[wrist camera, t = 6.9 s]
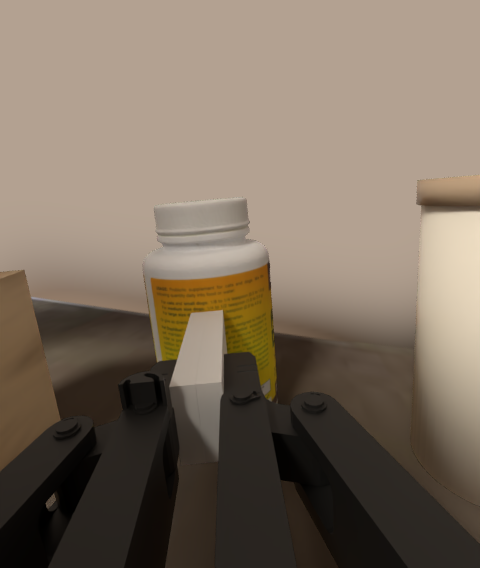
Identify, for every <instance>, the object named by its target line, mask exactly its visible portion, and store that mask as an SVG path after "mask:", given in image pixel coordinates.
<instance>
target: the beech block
mask: <svg viewBox="0 0 480 568" xmlns="http://www.w3.org/2000/svg"><path fill="white" fill-rule="evenodd" d="M59 421H61V419H60V415H59V411H58V407H57V403H56V399H55V395H54V390H53V386H52V382H51V378H50V374H49V370H48V366H47V362H46V357H45V353H44V349H43V345H42V341H41V337H40V333H39V329H38V324H37V320H36V316H35V312H34V308H33V304H32V300H31V296H30V292H29V287H28V283H27V280H26V275H25V271H24V270H18V271H7V272H0V471H1V470H2V469H3V468H5V467H6V466H7V465H8V464H9V463H10V462H11V461H12V460H13V459H14V458H16V457H17V456H18V455H19V454H20V453H21V452H22V451H23V450H24V449H25V448H27V447H28V446H29V445H30V444H31V443H32V442H33V441H34V440H35V439H36V438H38V437H39V436H40V435H41V434H42V433H43V432H44V431H45V430H46V429H48V428H49V427H50V426H52V425H53V424H55V423H57V422H59Z"/></svg>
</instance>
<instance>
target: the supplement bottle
mask: <svg viewBox="0 0 480 568" xmlns="http://www.w3.org/2000/svg"><path fill="white" fill-rule="evenodd" d="M154 213H155V220H156V232H157V233H158V236H157V240H158V242H160V243H162V244H163V247H162V248H159V249H156V250H154V251H152V252H151V253H149V254H148V255H147V256H146V257H145V259H144V261H143V276H144V282H145V288H146V295H147V302H148V308H149V315H150V322H151V328H152V334H153V340H154V346H155V353H156V359H157V363H158V362H159V361H165V360H176V359H178V355H179V352H180V349H181V345H182V342H183V338H184V335H185V332H186V328H187V325H188V321H189V318H190V315H191V313H196V312H207V311H218V310H223V315H224V325H225V335H226V345H227V354H230V353H240V352H250V353H251V354H252V355H254V356H255V358H256V363H257V368H258V374H259V379H260V384H261V390H262V392H263V394H264V396H265V398H266V399H268V400H270V401H271V402H274V403H277V402H278V393H277V376H276V358H275V343H274V329H273V314H272V300H271V282H270V263H269V255H268V251H267V249H266V247H265V246H264V245H263V244H262V243H260V242H258V241H256V240H251V239H245V236H246V235H247V234H248V233H249V227H248V224H249V223H250V221H249V219H248V212H247V200H246V198H243V197H239V198H225V199H215V200H214V199H213V200H202V201H191V202H181V203H171V204H161V205H156V206H155V207H154Z"/></svg>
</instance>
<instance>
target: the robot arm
mask: <svg viewBox="0 0 480 568" xmlns="http://www.w3.org/2000/svg"><path fill="white" fill-rule="evenodd" d="M118 387H119V392H120V397H121V403H122V408H123V410H122V413H121V415H120V417H119V419H118V420H116V421H113V422H110V423H107V424H103V425H100V426H97V427H94V423H93V420H92V419H91V418H90V417H87V416H72V417H69V418H68V417H67V418H64V419H62V420H61V421H59V422H57V423H55V424H53V425H52V426H50V427H49V428H48V429H46V430H45V431H44V432H43V433H42V434H41V435H40V436H39V437H38V438H36V439H35V440H34V441H33V442H32V443H31V444H30V445H29V446H28V447H27V448H25V449H24V450H23V451H22V452H21V453H20V454H19V455H18V456H17V457H16V458H14V459H13V460H12V461H11V462H10V463H9V464H8V465H7V466H6V467H5V468H3V469H2V470H1V471H0V568H165V562H166V556H167V550H168V544H169V537H170V531H171V525H172V519H173V512H174V506H175V500H176V494H177V487H178V481H179V475H178V468H177V460H178V455H179V456H180V463H181V466H182V465H192V464H202V463H212V462H218V482H217V513H216V544H215V568H297V565H296V560H295V555H294V550H293V544H292V539H291V534H290V528H289V523H288V518H287V512H286V507H285V502H284V497H283V491H282V486H281V481H280V480H285V481H290V482H294V484H295V487H296V490H297V492H298V494H299V496H300V498H301V499H302V501H303V503H304V505H305V507H306V508H307V510H308V512H309V514H310V516H311V518H312V519H313V521H314V523H315V525H316V527H317V529H318V530H319V532H320V534H321V536H322V538H323V539H324V541H325V543H326V545H327V547H328V549H329V550H330V552H331V554H332V556H333V558H334V560H335V561H336V563H337V565H338V567H339V568H480V544H479V543H478V542H477V541H476V540H475V539H474V538H473V537H472V536H471V535H470V534H469V533H468V532H467V531H466V530H465V529H464V528H463V527H462V526H461V525H460V524H459V523H458V522H457V521H456V520H455V519H454V518H453V517H452V516H451V515H450V514H449V513H448V512H447V511H446V510H445V509H444V508H443V507H442V506H441V505H440V504H439V503H438V502H437V501H436V500H435V499H434V498H433V497H432V496H431V495H430V494H429V493H428V492H427V491H426V490H425V489H424V488H423V487H422V486H421V485H420V484H419V483H418V482H417V481H416V480H415V479H414V478H413V477H412V476H411V475H410V474H409V473H408V472H407V471H406V470H405V469H404V468H403V467H402V466H401V465H400V464H399V463H398V462H397V461H396V460H395V459H394V458H393V457H392V456H391V455H390V454H389V453H388V452H387V451H386V450H385V449H384V448H383V447H382V446H381V445H380V444H379V443H378V442H377V441H376V440H375V439H374V438H373V437H372V436H371V435H370V434H369V433H368V432H367V431H366V430H365V429H364V428H363V427H362V426H361V425H360V424H359V423H358V422H357V421H356V420H355V419H354V418H353V417H352V416H351V415H350V414H349V413H348V412H347V411H346V410H345V409H344V408H343V407H342V406H341V405H340V404H339V403H338V402H337V401H336V400H335V399H334V398H332V397H331V396H329V395H326V394H323V393H319V392H307V393H302V394H299V395H297V396H295V397H294V398H293V399H292V400H291V404H290V405H282V404H277V403H274V402H271V401H270V400H268V399H266V398H265V396H264V394H263V392H262V390H261V384H260V379H259V374H258V368H257V363H256V358H255V356H254V355H252V354H251V353H250V352H240V353H230V354H227V345H226V335H225V325H224V315H223V310H218V311H207V312H196V313H191V315H190V318H189V321H188V325H187V328H186V332H185V335H184V338H183V342H182V345H181V349H180V352H179V355H178V359H176V360H165V361H159V362H158V363H156V364H155V365H154V366H153V367H152V368H151V370H150V371H145V372H140V373H136V374H133V375H130V376H128V377H127V378H125V379H123V380H122V381H121V382H120V383H119V384H118ZM53 493H54V494H55V498H56V501H55V502H54V504H53V505H52V506H51V507H50V508H49V509H47V508H46V504H45V503H46V502H47V500H48V499H49V498H50V497H51V496H52V495H53Z"/></svg>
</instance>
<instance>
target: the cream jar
mask: <svg viewBox="0 0 480 568" xmlns="http://www.w3.org/2000/svg"><path fill="white" fill-rule="evenodd" d="M417 204H418V205H421V225H420V246H419V268H418V289H417V310H416V331H415V352H414V373H413V394H412V415H411V436H410V442H411V447H412V450H413V452H414V455H415V456H416V458H417V460H418V461H419V463H420V464H421V465H422V467H423V468H424V469H425V470H426V471H427V472H428V473H429V474H430V475H431V476H432V477H433V478H434V479H435V480H436V481H438V482H439V483H440V484H441V485H443V486H444V487H446V488H447V489H448V490H450V491H451V492H453V493H454V494H456V495H458V496H459V497H461V498H463V499H465V500H467V501H469V502H471V503H472V504H474V505H477V506H479V507H480V175H473V176H461V177H450V178H438V179H426V180H418V182H417Z"/></svg>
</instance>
